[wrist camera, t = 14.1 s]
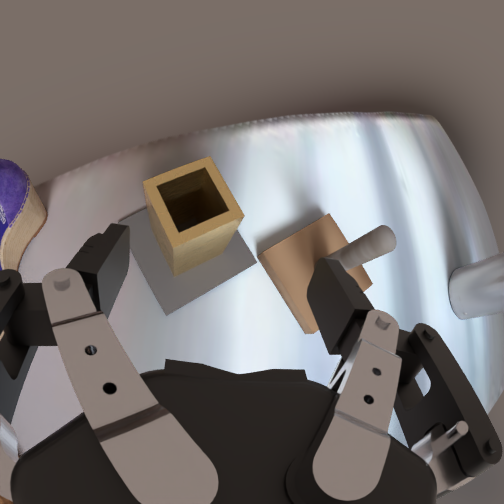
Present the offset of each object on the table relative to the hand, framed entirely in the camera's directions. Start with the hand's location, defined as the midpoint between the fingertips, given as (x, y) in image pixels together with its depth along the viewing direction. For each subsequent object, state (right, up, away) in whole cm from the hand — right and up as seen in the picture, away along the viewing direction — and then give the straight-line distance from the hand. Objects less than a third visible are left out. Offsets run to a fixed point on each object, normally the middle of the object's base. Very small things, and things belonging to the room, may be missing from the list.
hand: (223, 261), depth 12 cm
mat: (-6, +1, +18) cm, 19 cm away
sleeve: (-6, +1, +18) cm, 18 cm away
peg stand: (+8, -2, +21) cm, 23 cm away
